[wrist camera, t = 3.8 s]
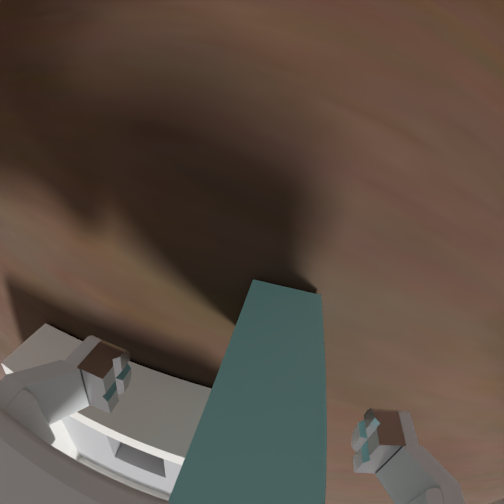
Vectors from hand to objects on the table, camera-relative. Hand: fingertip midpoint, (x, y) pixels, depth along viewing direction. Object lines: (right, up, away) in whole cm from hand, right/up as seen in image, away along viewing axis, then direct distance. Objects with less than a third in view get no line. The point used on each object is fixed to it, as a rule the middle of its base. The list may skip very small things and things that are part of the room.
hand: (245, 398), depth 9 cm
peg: (+1, +2, +5) cm, 5 cm away
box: (-8, -9, +10) cm, 16 cm away
